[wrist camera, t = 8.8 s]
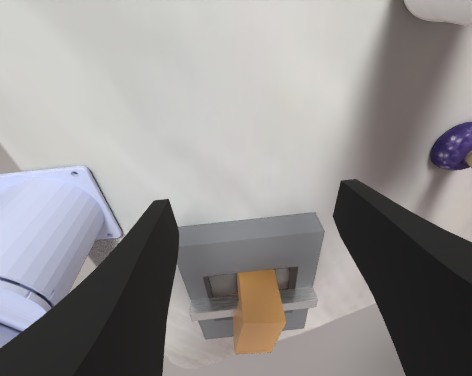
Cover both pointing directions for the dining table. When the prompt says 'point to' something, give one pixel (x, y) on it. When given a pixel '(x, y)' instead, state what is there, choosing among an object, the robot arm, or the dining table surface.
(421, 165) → the dining table surface
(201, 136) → the dining table surface
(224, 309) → the hook bar
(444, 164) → the toy lamp
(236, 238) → the gray rectangular frame
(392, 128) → the dining table surface
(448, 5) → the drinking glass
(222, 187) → the dining table surface
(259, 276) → the tall orange box
